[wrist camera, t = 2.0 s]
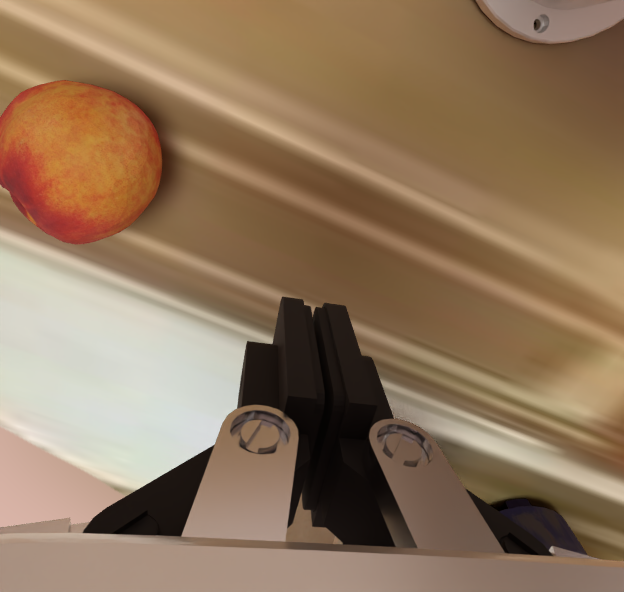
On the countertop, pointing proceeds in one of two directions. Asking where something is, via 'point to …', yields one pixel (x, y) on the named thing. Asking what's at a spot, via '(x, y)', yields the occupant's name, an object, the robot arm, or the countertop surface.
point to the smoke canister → (543, 525)
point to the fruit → (78, 160)
